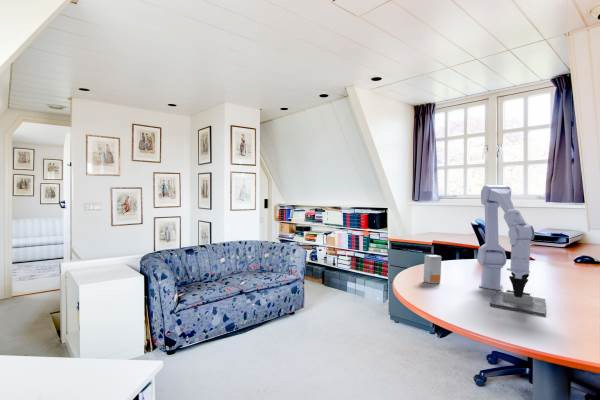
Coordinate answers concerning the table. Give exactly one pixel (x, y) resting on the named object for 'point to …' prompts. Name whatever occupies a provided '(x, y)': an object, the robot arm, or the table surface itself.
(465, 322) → the table surface
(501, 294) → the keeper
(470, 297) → the table surface
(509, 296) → the link
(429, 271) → the skincare box
